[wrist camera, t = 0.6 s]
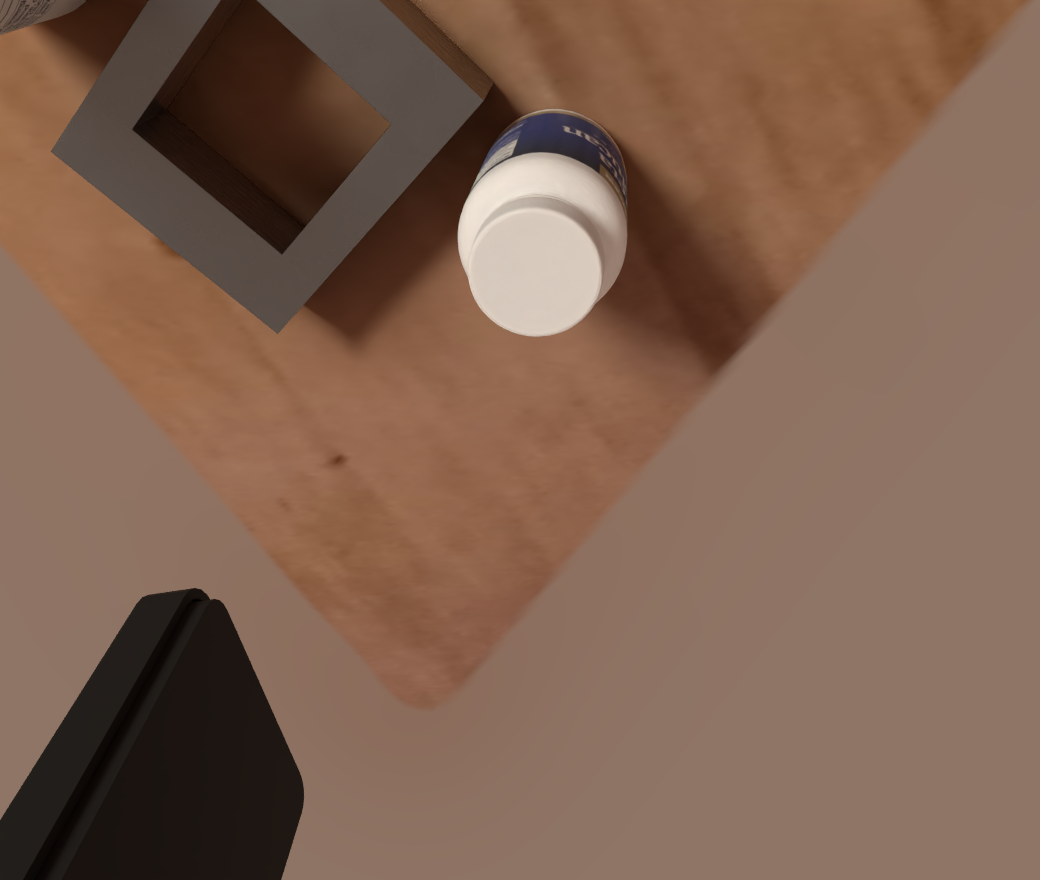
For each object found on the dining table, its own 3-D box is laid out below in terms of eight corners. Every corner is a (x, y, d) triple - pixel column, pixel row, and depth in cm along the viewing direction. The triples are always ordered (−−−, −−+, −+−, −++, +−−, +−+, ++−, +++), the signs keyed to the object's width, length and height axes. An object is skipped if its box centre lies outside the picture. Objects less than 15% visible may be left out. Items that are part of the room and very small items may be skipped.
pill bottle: (658, 168, 36) (668, 265, 28) (565, 274, 39) (550, 392, 30) (543, 72, 35) (518, 144, 27) (455, 189, 37) (407, 287, 29)
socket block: (268, -139, 32) (237, -137, 30) (493, 82, 35) (483, 100, 33) (89, 130, 37) (50, 151, 35) (299, 302, 40) (277, 333, 38)
